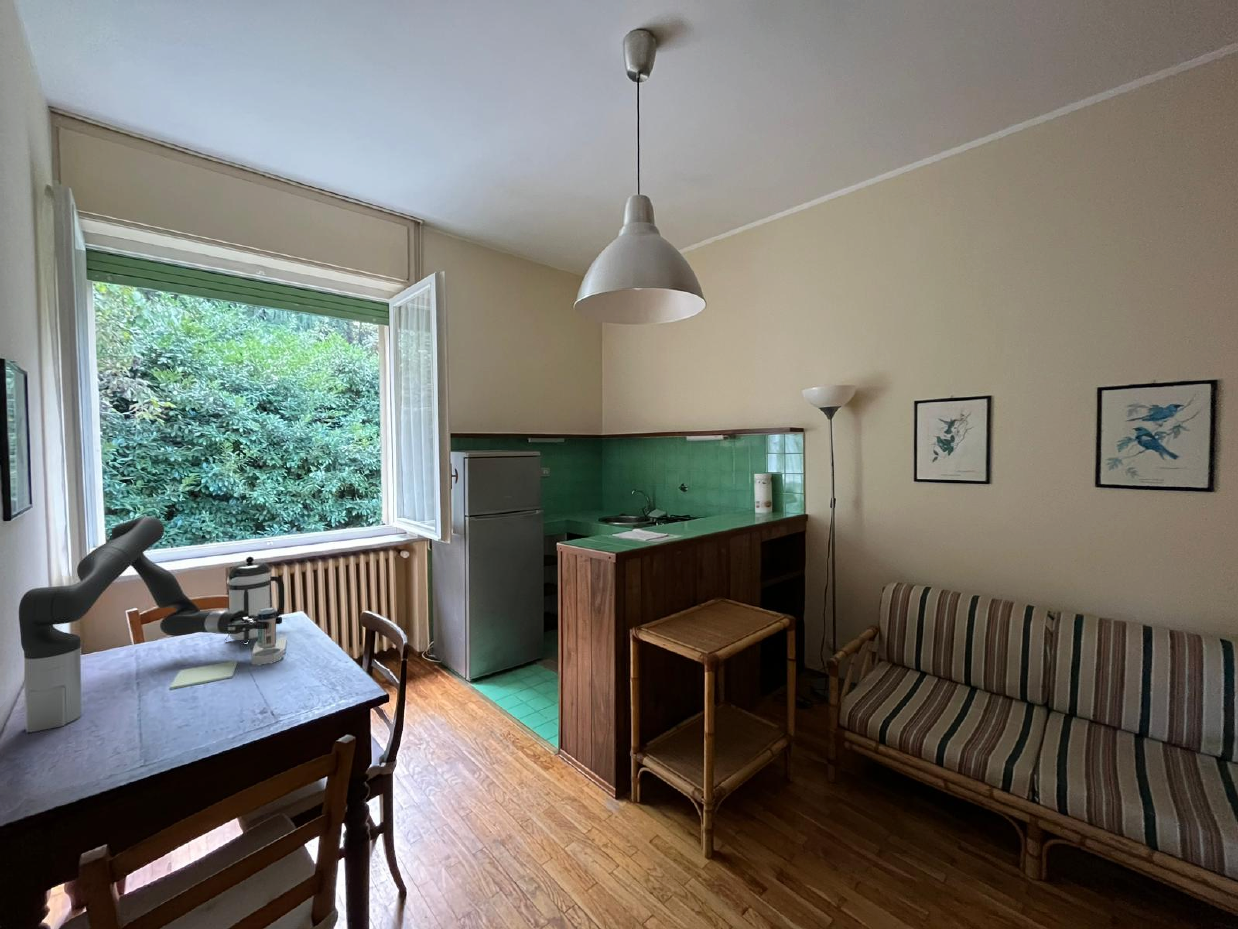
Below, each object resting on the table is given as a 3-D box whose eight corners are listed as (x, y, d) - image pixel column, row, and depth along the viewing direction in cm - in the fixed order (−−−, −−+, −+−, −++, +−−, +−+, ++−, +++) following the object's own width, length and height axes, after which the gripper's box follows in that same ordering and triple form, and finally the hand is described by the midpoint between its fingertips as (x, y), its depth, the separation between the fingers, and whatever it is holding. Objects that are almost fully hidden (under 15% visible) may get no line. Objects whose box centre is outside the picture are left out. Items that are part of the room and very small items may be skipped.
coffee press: (272, 642, 177) (271, 558, 177) (217, 649, 171) (216, 562, 171) (285, 627, 193) (284, 550, 193) (235, 633, 187) (234, 554, 187)
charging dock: (283, 660, 160) (283, 653, 160) (249, 667, 155) (249, 659, 155) (286, 641, 178) (286, 634, 178) (255, 646, 173) (255, 639, 173)
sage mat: (232, 677, 147) (232, 675, 147) (169, 689, 140) (169, 687, 140) (237, 662, 159) (237, 660, 159) (180, 672, 151) (180, 670, 151)
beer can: (279, 643, 163) (279, 606, 163) (269, 648, 158) (269, 610, 158) (264, 643, 162) (264, 607, 163) (254, 649, 158) (254, 611, 158)
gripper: (206, 616, 155) (256, 617, 153) (245, 604, 169) (291, 605, 167) (206, 640, 155) (256, 642, 153) (245, 626, 169) (291, 627, 167)
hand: (274, 623), depth 160 cm, fingers closed on beer can, 4 cm apart
